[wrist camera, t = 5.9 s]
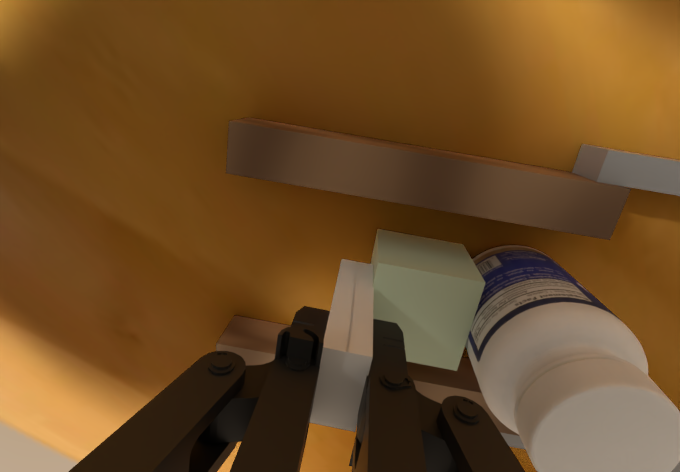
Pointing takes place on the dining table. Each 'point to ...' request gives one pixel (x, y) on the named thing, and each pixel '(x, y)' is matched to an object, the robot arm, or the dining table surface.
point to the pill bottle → (566, 371)
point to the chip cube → (426, 294)
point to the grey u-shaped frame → (627, 173)
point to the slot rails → (417, 190)
